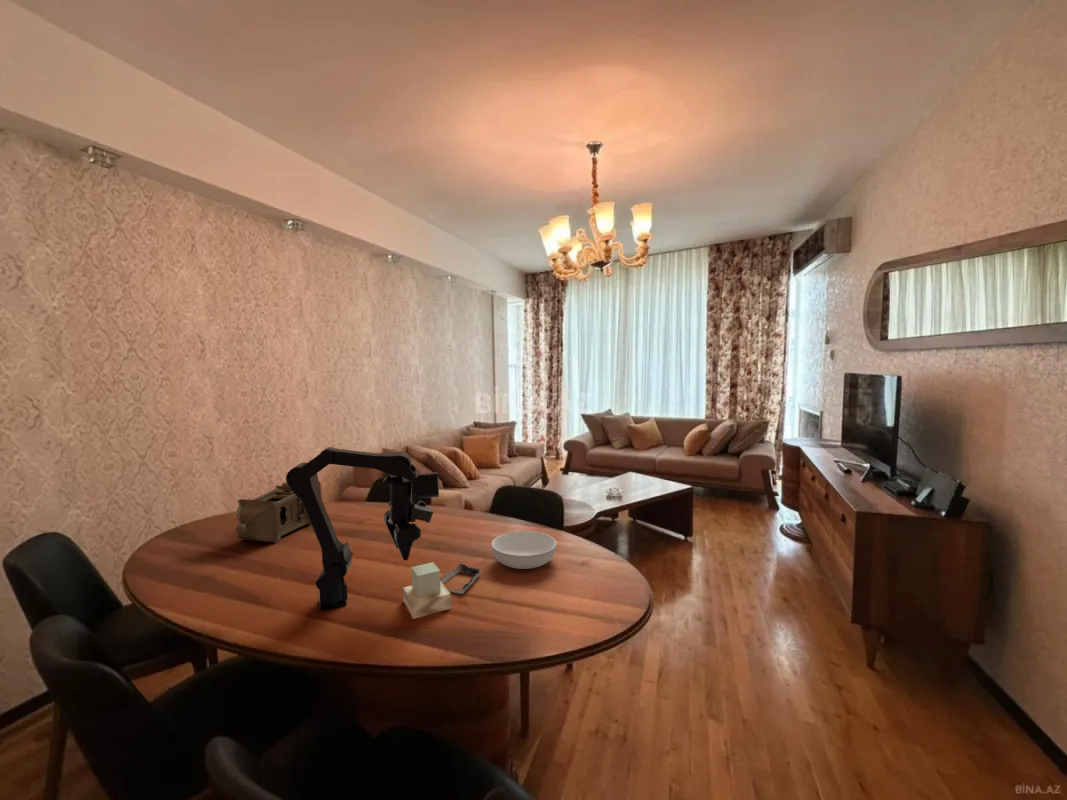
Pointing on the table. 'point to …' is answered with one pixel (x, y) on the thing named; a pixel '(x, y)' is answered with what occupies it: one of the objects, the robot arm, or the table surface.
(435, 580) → the green cube
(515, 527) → the table surface
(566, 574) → the table surface
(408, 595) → the beige square block
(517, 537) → the serving bowl
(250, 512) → the toy tower
